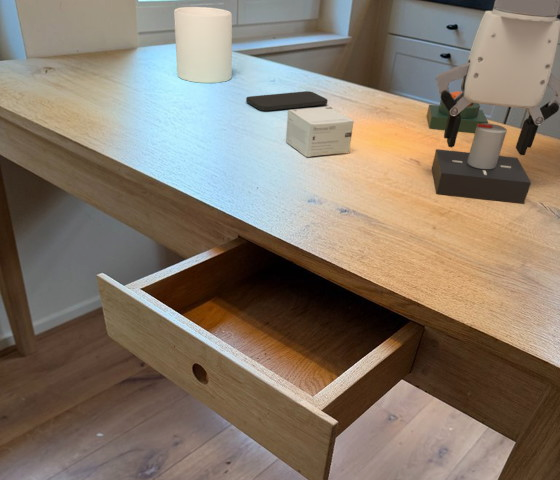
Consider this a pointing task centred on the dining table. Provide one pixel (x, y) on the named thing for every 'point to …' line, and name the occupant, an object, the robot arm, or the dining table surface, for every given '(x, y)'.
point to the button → (455, 94)
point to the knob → (486, 146)
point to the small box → (319, 131)
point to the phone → (286, 100)
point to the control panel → (479, 178)
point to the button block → (469, 115)
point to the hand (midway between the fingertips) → (484, 148)
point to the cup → (203, 44)
